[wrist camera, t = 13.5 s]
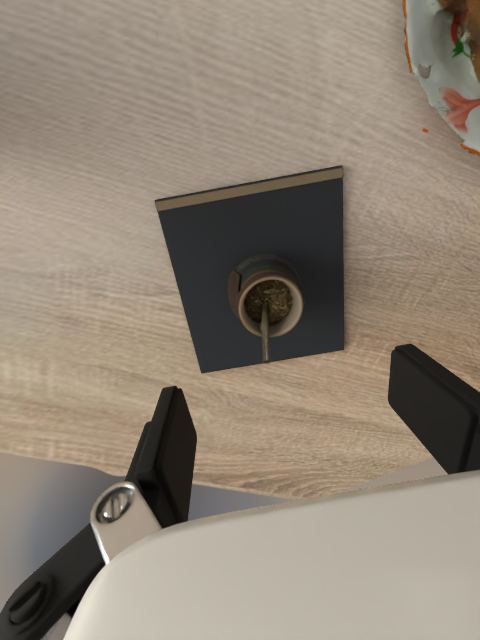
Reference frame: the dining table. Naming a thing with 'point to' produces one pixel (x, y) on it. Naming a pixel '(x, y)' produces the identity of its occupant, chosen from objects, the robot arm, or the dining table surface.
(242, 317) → the mate gourd
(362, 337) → the dining table surface
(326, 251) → the mat
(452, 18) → the food on plate
